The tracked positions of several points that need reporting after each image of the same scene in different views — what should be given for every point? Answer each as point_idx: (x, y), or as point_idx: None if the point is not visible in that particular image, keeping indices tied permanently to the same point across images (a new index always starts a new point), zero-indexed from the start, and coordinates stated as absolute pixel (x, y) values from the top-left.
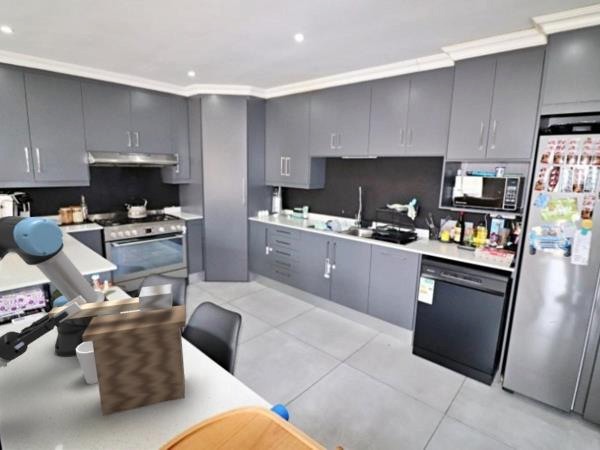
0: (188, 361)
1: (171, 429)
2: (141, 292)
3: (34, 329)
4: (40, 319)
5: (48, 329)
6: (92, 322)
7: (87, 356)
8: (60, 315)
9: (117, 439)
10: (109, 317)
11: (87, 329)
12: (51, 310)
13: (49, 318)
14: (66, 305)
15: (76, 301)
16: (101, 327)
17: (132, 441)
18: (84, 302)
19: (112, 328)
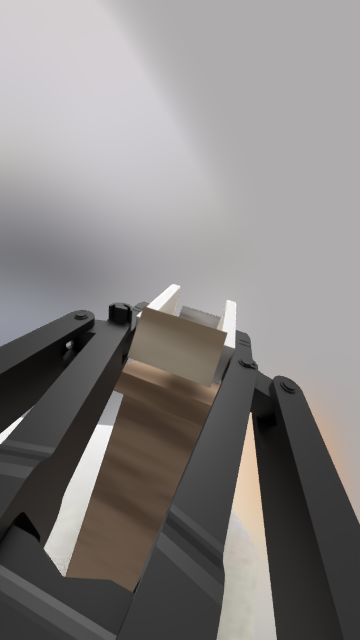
0: (100, 438)
1: (231, 518)
2: (207, 313)
3: (230, 503)
4: None
5: (271, 428)
6: (154, 381)
7: None
8: (250, 345)
9: (239, 634)
10: (149, 365)
11: (196, 398)
12: (184, 319)
13: (215, 366)
14: (162, 309)
15: (173, 302)
16: (198, 386)
17: (248, 595)
18: (174, 312)
19: (212, 382)
